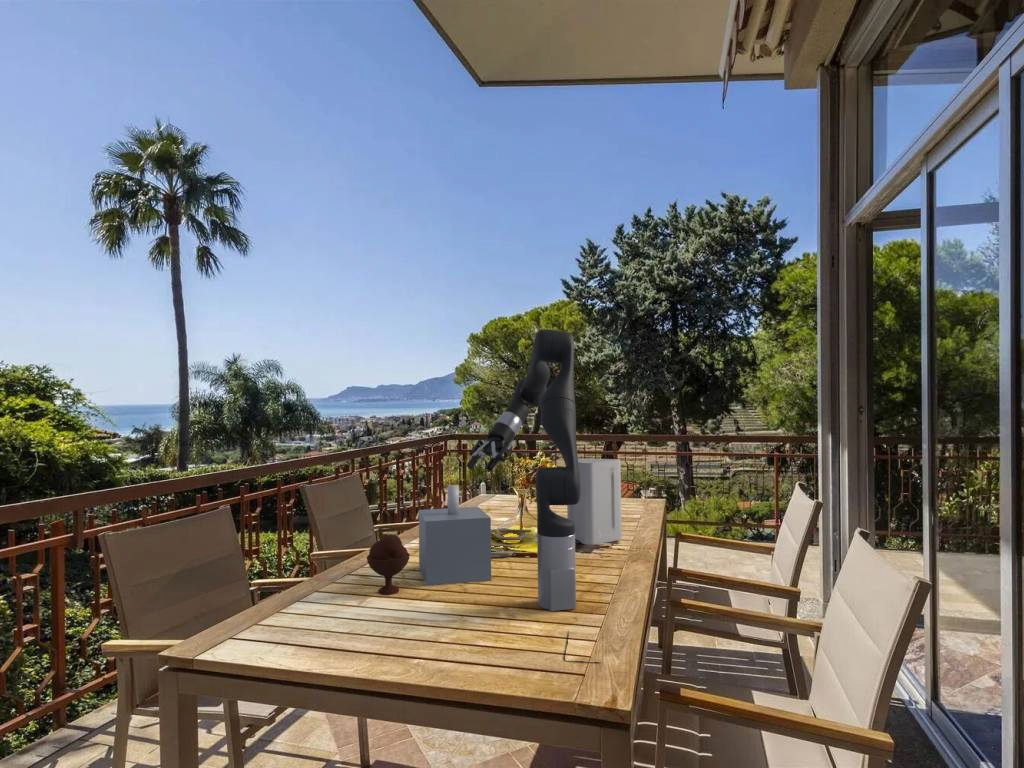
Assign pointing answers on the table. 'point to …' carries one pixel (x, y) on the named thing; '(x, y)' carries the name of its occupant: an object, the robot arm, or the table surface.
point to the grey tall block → (598, 502)
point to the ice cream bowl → (388, 561)
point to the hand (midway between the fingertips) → (478, 469)
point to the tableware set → (500, 536)
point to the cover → (454, 543)
